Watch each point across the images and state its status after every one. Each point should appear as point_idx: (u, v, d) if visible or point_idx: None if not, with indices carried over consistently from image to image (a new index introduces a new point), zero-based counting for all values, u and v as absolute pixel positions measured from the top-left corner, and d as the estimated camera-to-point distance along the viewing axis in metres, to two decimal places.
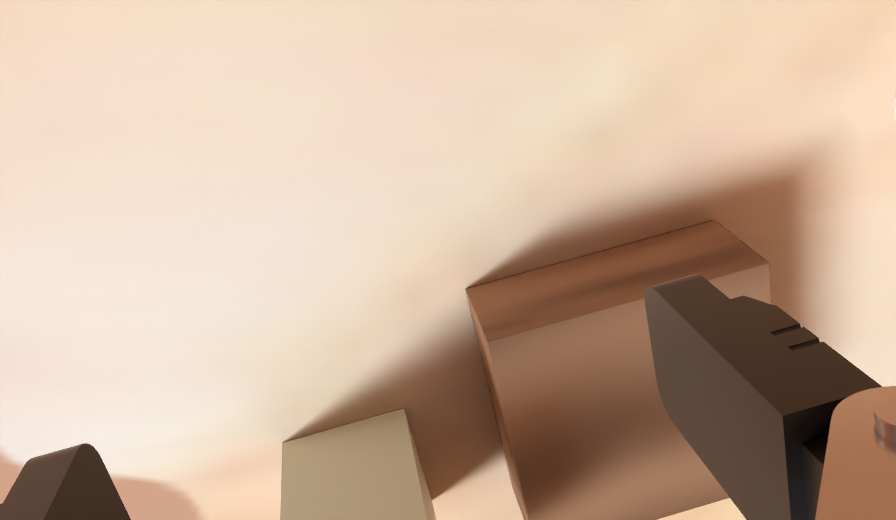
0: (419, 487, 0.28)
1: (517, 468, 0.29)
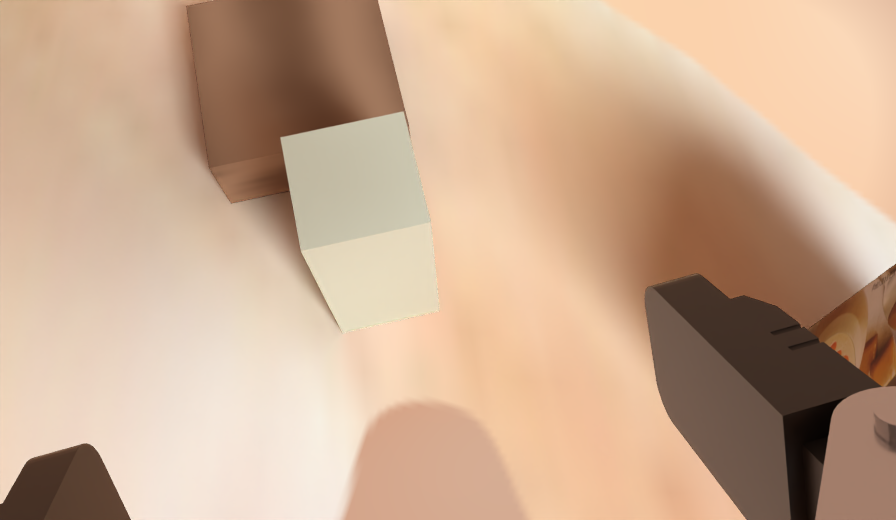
0: None
1: None
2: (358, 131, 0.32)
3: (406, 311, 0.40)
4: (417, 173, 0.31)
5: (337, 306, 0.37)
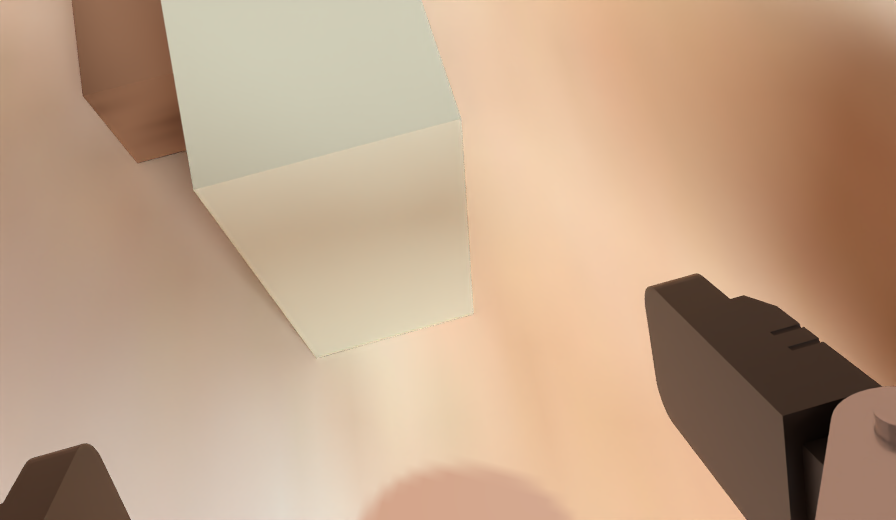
0: None
1: None
2: None
3: (419, 316, 0.24)
4: (428, 29, 0.16)
5: (298, 311, 0.21)
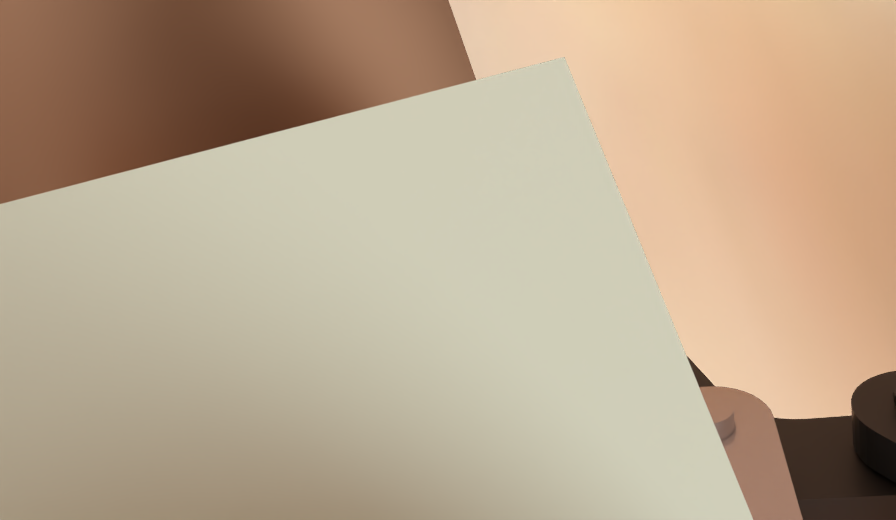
0: None
1: None
2: (354, 162, 0.06)
3: None
4: (687, 379, 0.06)
5: None
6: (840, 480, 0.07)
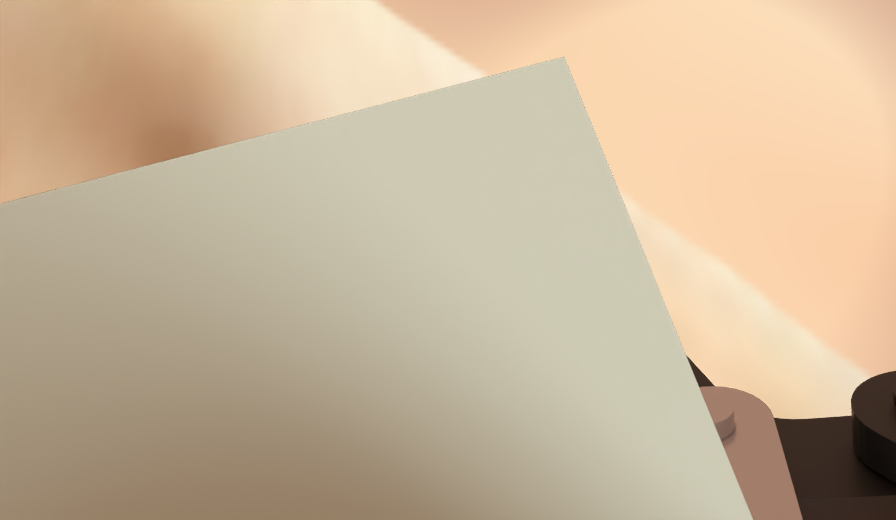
0: None
1: None
2: (354, 162, 0.06)
3: None
4: (686, 379, 0.06)
5: None
6: (840, 480, 0.07)
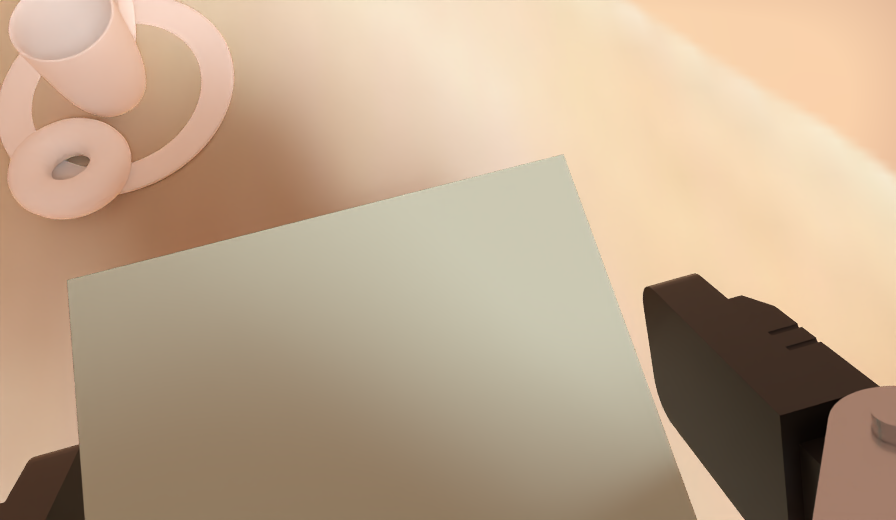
0: None
1: None
2: (386, 244, 0.08)
3: None
4: (658, 433, 0.07)
5: None
6: None
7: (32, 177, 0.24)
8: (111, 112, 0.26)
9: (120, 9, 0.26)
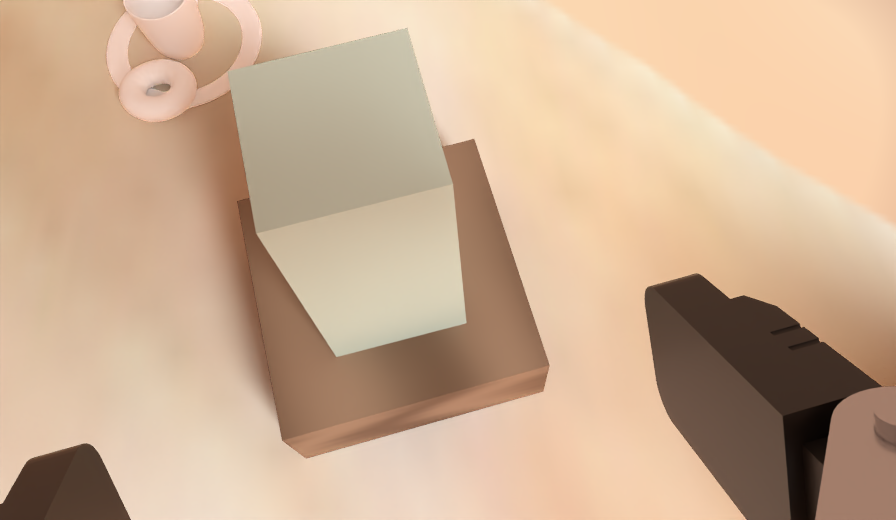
0: None
1: (433, 397, 0.29)
2: (341, 58, 0.22)
3: (421, 324, 0.29)
4: (430, 114, 0.21)
5: (325, 319, 0.26)
6: None
7: (135, 94, 0.38)
8: (182, 56, 0.40)
9: None
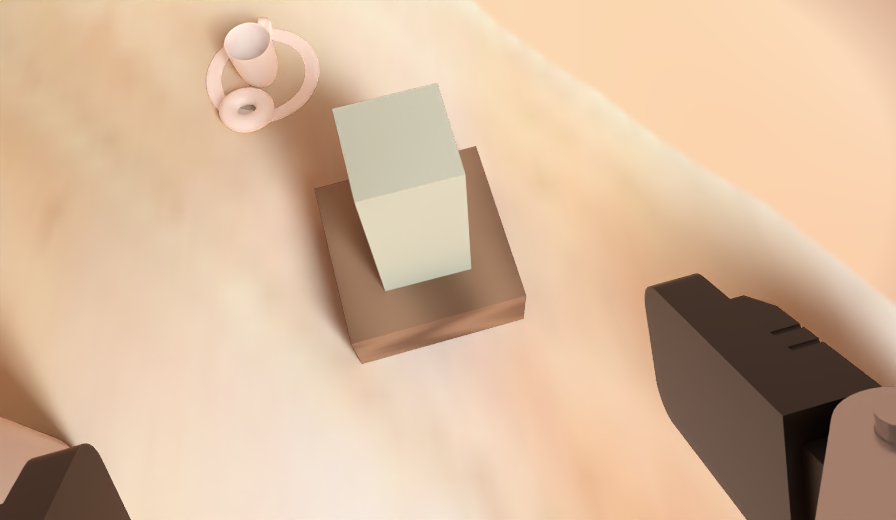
0: None
1: (449, 316, 0.44)
2: (399, 101, 0.37)
3: (442, 268, 0.44)
4: (451, 134, 0.36)
5: (382, 261, 0.41)
6: None
7: (232, 113, 0.53)
8: (262, 85, 0.55)
9: None
